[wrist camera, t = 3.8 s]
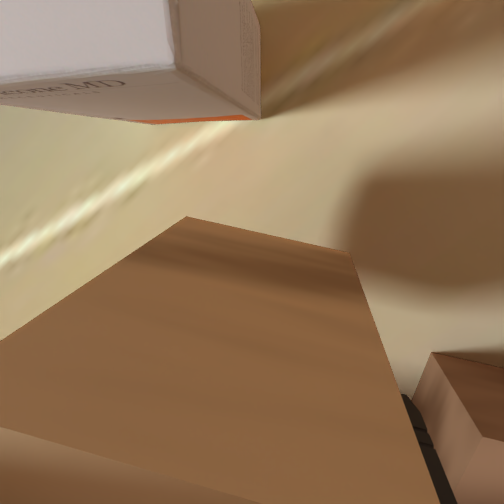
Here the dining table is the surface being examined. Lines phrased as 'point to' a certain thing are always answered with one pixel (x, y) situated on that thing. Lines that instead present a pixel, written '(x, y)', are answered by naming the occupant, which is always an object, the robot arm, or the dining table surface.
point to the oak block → (208, 383)
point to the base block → (465, 425)
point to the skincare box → (132, 59)
